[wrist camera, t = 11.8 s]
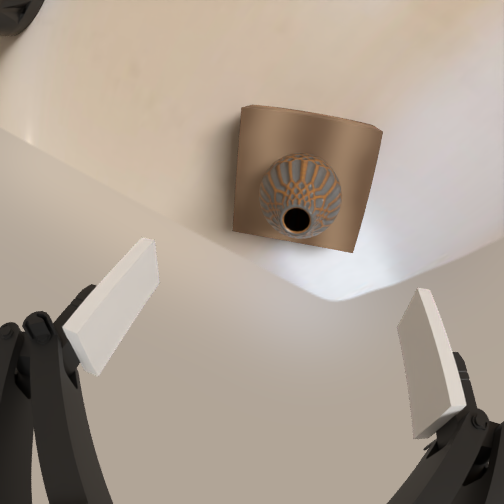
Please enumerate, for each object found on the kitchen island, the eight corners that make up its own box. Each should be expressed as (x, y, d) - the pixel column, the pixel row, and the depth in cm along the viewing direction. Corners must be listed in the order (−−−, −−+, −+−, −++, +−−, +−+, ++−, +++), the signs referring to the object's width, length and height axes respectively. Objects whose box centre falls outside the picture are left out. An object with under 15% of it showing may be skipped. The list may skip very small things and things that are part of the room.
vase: (265, 211, 30) (246, 257, 22) (267, 143, 26) (247, 168, 19) (334, 218, 29) (338, 268, 21) (342, 150, 25) (353, 178, 18)
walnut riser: (243, 212, 36) (232, 231, 32) (252, 104, 29) (241, 107, 25) (349, 231, 34) (352, 253, 30) (373, 125, 27) (382, 131, 23)
